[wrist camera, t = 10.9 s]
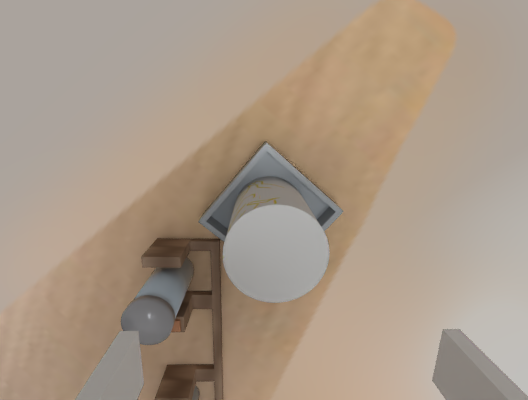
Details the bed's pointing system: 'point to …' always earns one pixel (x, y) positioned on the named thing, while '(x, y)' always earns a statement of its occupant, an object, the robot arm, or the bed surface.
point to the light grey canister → (274, 242)
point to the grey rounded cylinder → (158, 303)
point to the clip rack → (185, 376)
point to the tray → (261, 166)
